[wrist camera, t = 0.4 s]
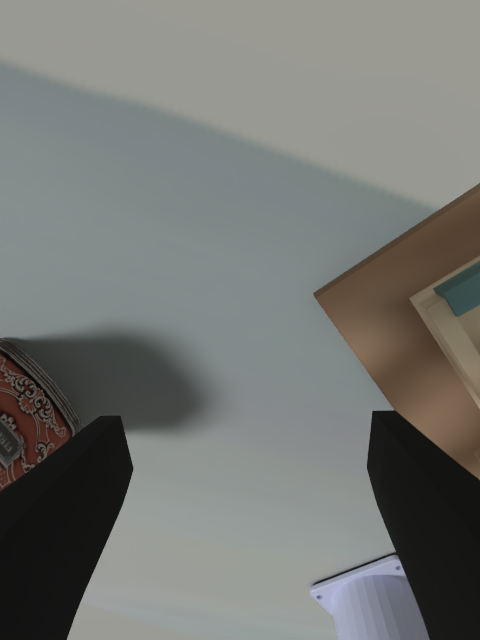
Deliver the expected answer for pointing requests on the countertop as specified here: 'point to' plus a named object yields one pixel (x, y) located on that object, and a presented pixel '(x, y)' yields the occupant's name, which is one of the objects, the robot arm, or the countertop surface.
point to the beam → (456, 320)
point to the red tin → (29, 414)
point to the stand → (413, 326)
